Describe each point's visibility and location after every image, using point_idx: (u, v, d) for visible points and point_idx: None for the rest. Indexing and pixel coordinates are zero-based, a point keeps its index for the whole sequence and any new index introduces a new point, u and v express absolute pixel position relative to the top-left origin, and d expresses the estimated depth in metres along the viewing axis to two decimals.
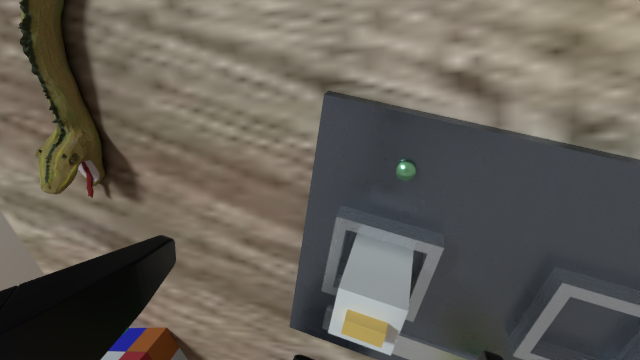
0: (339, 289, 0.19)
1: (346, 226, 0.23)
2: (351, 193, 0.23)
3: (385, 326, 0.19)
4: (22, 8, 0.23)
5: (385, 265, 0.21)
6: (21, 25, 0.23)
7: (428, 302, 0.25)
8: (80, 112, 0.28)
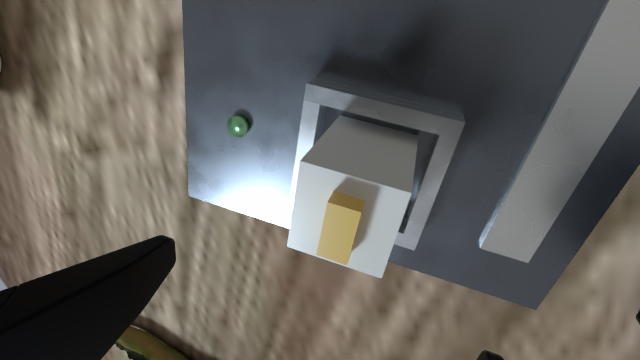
0: (289, 245, 0.14)
1: None
2: (279, 184, 0.20)
3: None
4: None
5: None
6: None
7: (449, 90, 0.15)
8: None
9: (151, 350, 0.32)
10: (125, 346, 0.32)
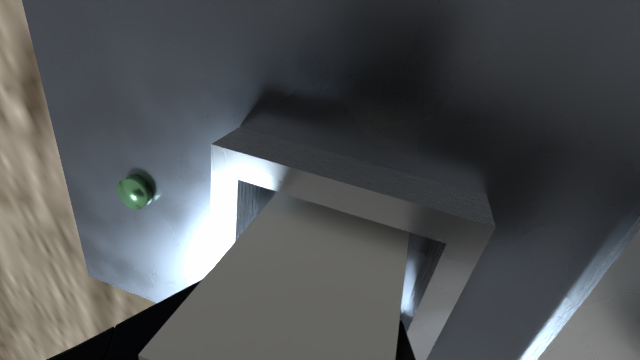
0: None
1: None
2: (205, 274, 0.13)
3: None
4: None
5: None
6: None
7: (464, 157, 0.09)
8: None
9: None
10: None
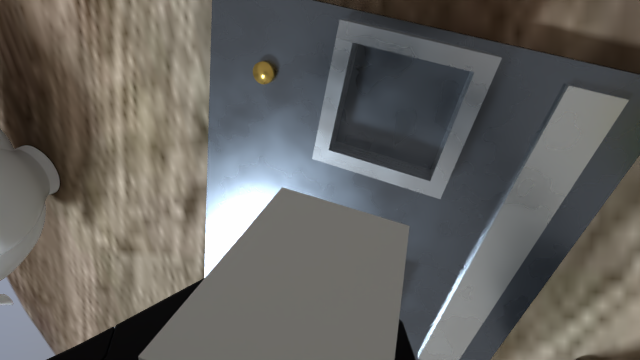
0: None
1: None
2: None
3: None
4: None
5: None
6: None
7: None
8: None
9: None
10: None
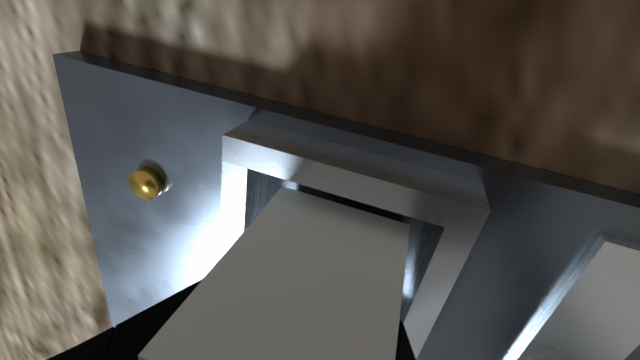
0: None
1: None
2: None
3: None
4: None
5: None
6: None
7: None
8: None
9: None
10: None
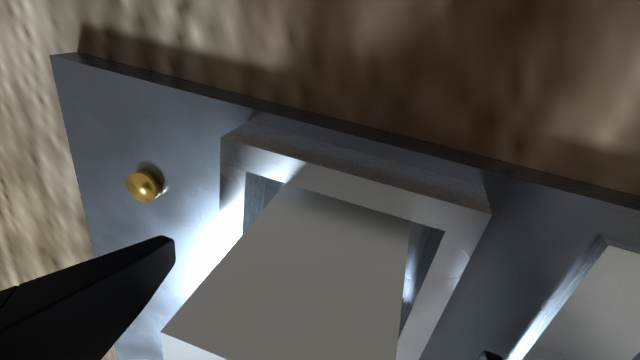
0: None
1: None
2: None
3: None
4: None
5: None
6: None
7: None
8: None
9: None
10: None
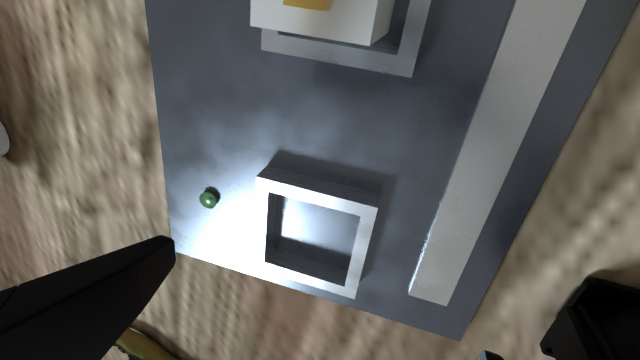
0: (253, 23, 0.11)
1: (260, 260, 0.22)
2: (246, 243, 0.24)
3: None
4: None
5: None
6: None
7: (369, 178, 0.19)
8: None
9: (152, 356, 0.34)
10: (127, 350, 0.34)
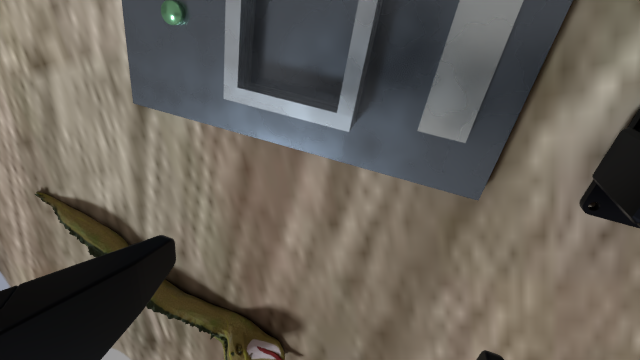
0: None
1: (233, 86, 0.18)
2: (219, 79, 0.20)
3: None
4: None
5: None
6: None
7: None
8: (217, 313, 0.30)
9: None
10: (88, 240, 0.29)
